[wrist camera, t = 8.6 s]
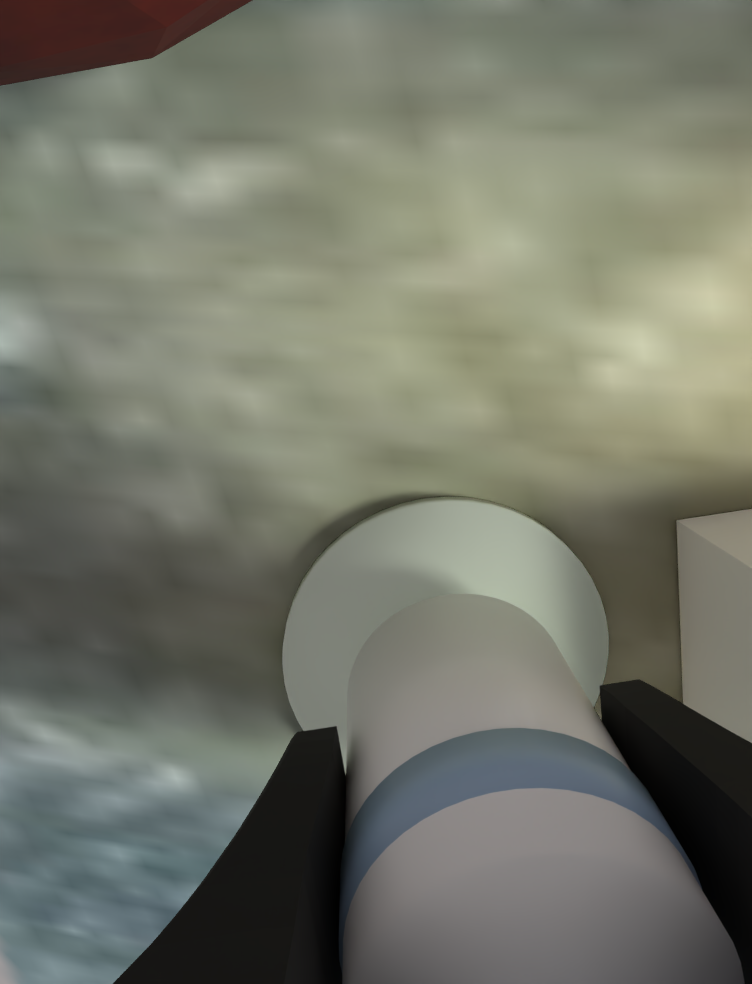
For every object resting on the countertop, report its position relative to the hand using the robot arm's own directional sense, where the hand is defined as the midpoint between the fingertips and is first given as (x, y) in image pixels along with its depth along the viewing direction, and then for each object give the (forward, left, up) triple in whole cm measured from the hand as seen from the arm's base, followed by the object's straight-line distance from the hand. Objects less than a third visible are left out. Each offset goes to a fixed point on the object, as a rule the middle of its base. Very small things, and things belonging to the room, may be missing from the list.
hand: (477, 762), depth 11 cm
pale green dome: (0, 0, -4) cm, 4 cm away
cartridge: (0, 0, -2) cm, 2 cm away
